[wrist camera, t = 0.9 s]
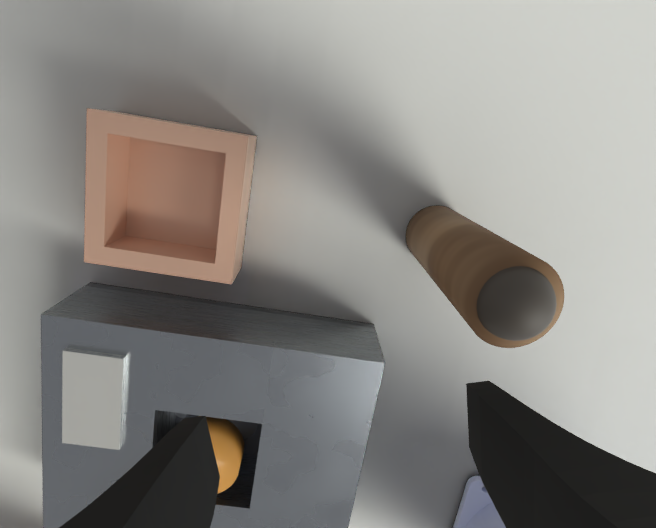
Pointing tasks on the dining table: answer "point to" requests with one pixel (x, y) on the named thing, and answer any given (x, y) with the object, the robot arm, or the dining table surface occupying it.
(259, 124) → the dining table surface
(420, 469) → the dining table surface
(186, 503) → the robot arm
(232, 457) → the button
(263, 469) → the panel
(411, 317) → the dining table surface
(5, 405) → the dining table surface
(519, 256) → the brown wooden cylinder
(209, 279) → the holder
